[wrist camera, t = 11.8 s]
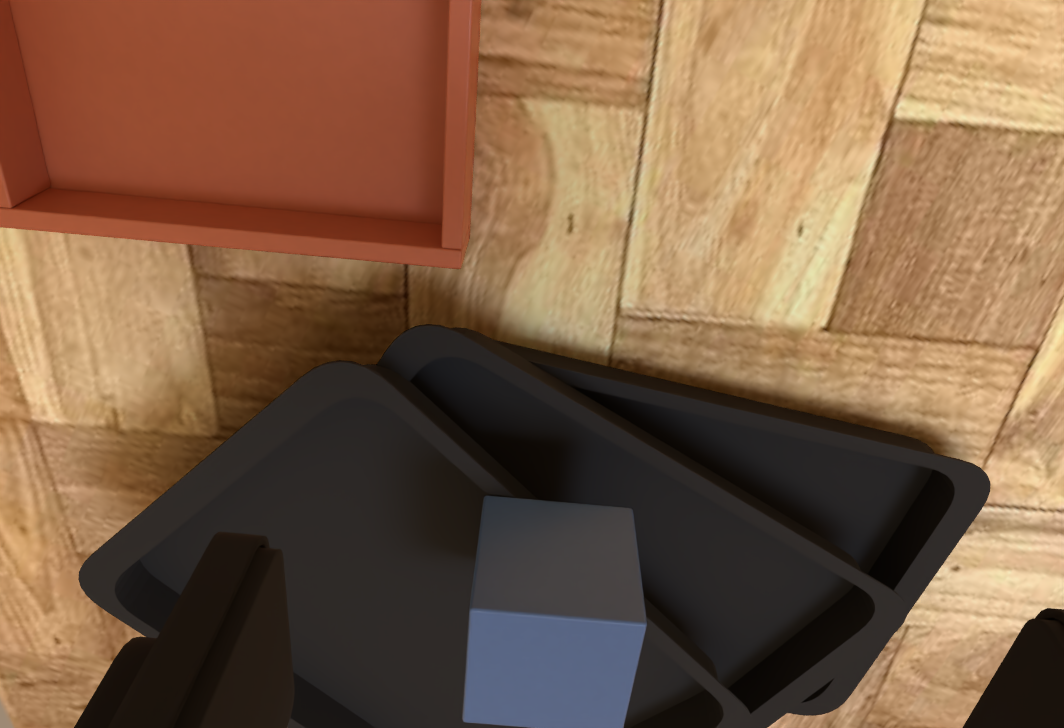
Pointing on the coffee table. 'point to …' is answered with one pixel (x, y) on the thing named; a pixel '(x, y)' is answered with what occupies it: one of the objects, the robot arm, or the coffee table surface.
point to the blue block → (553, 615)
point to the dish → (244, 123)
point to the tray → (563, 476)
